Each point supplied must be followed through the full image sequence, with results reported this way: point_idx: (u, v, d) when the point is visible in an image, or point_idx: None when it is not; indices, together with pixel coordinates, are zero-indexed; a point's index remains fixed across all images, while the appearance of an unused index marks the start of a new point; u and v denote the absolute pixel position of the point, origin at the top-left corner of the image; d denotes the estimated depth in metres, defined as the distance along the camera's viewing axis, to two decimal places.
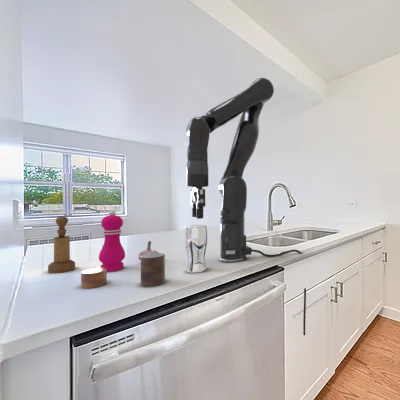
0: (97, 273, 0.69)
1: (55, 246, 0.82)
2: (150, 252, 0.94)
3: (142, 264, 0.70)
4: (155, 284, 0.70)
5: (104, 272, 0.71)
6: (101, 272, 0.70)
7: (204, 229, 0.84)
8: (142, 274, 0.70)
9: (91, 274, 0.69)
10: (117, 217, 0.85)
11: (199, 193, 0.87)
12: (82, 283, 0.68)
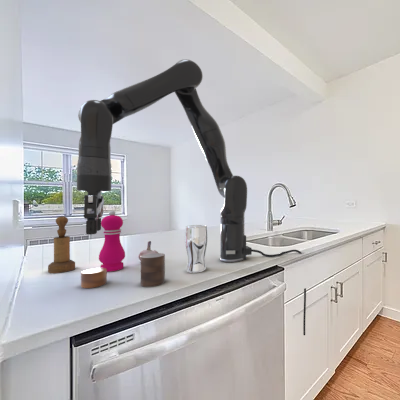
0: (97, 273, 0.69)
1: (55, 246, 0.82)
2: (150, 252, 0.94)
3: (142, 264, 0.70)
4: (155, 284, 0.70)
5: (104, 272, 0.71)
6: (101, 272, 0.70)
7: (204, 229, 0.84)
8: (142, 274, 0.70)
9: (91, 274, 0.69)
10: (117, 217, 0.85)
11: (87, 201, 0.65)
12: (82, 283, 0.68)
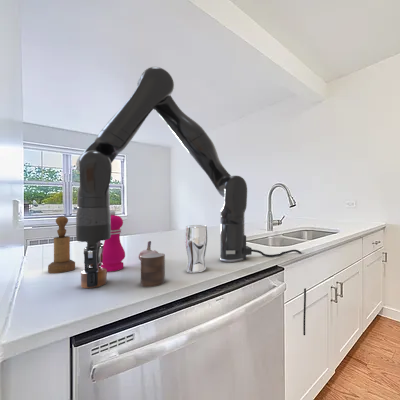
0: None
1: (55, 246, 0.82)
2: (150, 252, 0.94)
3: (142, 264, 0.70)
4: (155, 284, 0.70)
5: (104, 272, 0.71)
6: (101, 272, 0.70)
7: (204, 229, 0.84)
8: (142, 274, 0.70)
9: None
10: (117, 217, 0.85)
11: (87, 257, 0.65)
12: (82, 283, 0.68)
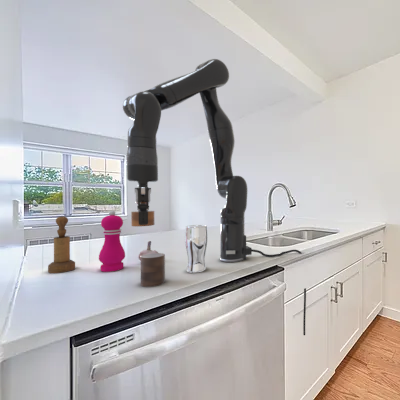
0: None
1: (55, 246, 0.82)
2: (150, 252, 0.94)
3: (142, 264, 0.70)
4: (155, 284, 0.70)
5: (153, 213, 0.72)
6: (150, 212, 0.72)
7: (204, 229, 0.84)
8: (142, 274, 0.70)
9: None
10: (117, 217, 0.85)
11: (140, 193, 0.66)
12: (133, 221, 0.70)
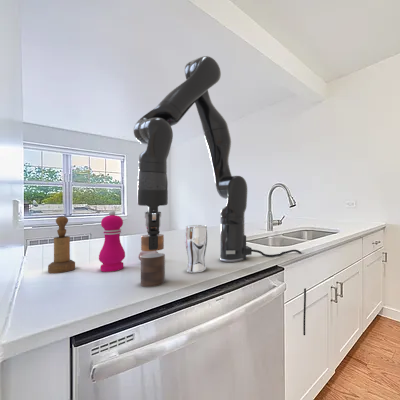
0: None
1: (55, 246, 0.82)
2: (150, 252, 0.94)
3: (142, 264, 0.70)
4: (155, 284, 0.70)
5: (162, 237, 0.73)
6: (160, 236, 0.72)
7: (204, 229, 0.84)
8: (142, 274, 0.70)
9: None
10: (117, 217, 0.85)
11: (151, 219, 0.67)
12: (143, 246, 0.70)
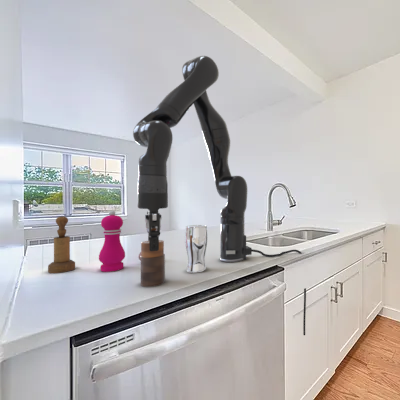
0: None
1: (55, 246, 0.82)
2: None
3: (142, 264, 0.70)
4: (155, 284, 0.70)
5: (162, 243, 0.73)
6: (160, 243, 0.72)
7: (204, 229, 0.84)
8: (142, 274, 0.70)
9: None
10: (117, 217, 0.85)
11: (151, 219, 0.66)
12: (143, 253, 0.70)
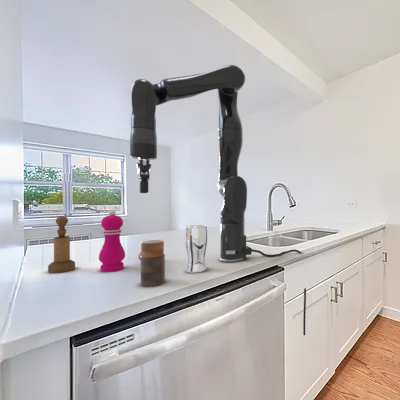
0: (157, 243, 0.71)
1: (55, 246, 0.82)
2: None
3: (142, 264, 0.70)
4: (155, 284, 0.70)
5: (162, 243, 0.73)
6: (160, 243, 0.72)
7: (204, 229, 0.84)
8: (142, 274, 0.70)
9: (152, 244, 0.70)
10: (117, 217, 0.85)
11: (142, 163, 0.77)
12: (143, 253, 0.70)
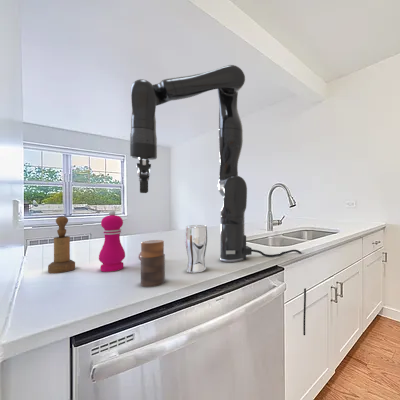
0: (157, 243, 0.71)
1: (55, 246, 0.82)
2: None
3: (142, 264, 0.70)
4: (155, 284, 0.70)
5: (162, 243, 0.73)
6: (160, 243, 0.72)
7: (204, 229, 0.84)
8: (142, 274, 0.70)
9: (152, 244, 0.70)
10: (117, 217, 0.85)
11: (141, 163, 0.78)
12: (143, 253, 0.70)
